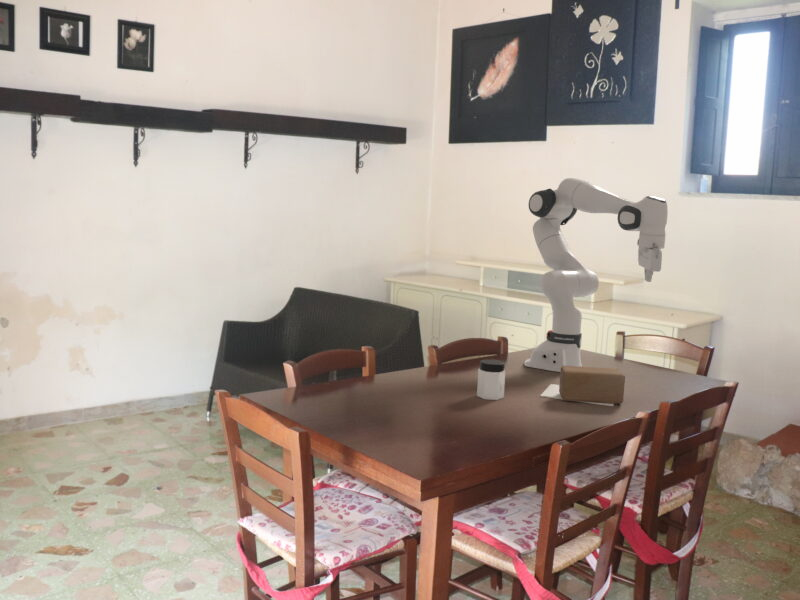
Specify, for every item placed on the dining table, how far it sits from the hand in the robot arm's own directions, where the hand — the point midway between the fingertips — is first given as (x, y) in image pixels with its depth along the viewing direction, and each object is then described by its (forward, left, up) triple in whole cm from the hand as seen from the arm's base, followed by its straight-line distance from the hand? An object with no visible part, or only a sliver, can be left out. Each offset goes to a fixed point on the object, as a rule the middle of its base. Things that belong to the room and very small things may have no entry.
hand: (647, 281), depth 286 cm
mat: (-17, -24, -38) cm, 49 cm away
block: (-3, -26, -33) cm, 42 cm away
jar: (-44, -42, -39) cm, 72 cm away
